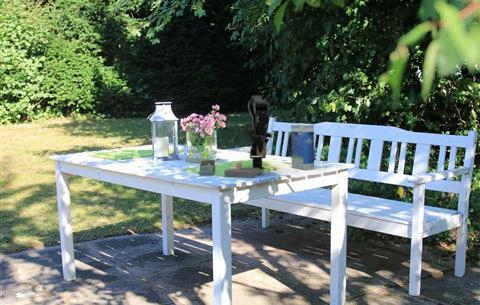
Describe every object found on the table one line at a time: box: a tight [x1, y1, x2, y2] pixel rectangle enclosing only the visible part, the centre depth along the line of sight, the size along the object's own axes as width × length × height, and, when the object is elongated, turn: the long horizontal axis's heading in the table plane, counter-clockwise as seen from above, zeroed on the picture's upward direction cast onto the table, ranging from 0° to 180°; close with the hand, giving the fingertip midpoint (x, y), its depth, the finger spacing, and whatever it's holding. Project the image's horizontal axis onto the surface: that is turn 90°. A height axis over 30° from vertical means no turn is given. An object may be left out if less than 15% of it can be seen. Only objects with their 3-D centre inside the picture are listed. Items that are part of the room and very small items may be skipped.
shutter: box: [227, 161, 243, 170], centre depth 311 cm, size 6×6×4 cm
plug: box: [256, 143, 267, 157], centre depth 313 cm, size 4×4×7 cm
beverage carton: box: [199, 159, 216, 177], centre depth 322 cm, size 8×19×7 cm, turn 0°
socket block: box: [223, 167, 261, 179], centre depth 310 cm, size 12×16×4 cm
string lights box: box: [290, 122, 315, 171], centre depth 331 cm, size 13×8×26 cm, turn 30°
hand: (261, 152), depth 313 cm, fingers closed on plug, 4 cm apart
